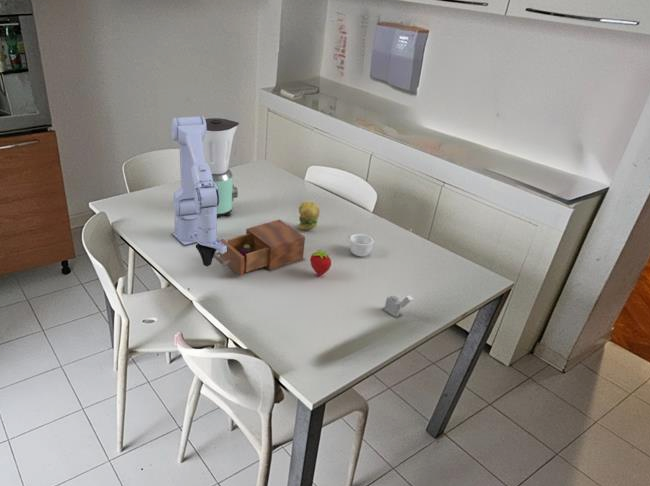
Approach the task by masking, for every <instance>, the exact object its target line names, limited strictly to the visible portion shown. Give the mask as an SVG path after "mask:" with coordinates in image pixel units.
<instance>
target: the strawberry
mask: <svg viewBox="0 0 650 486" xmlns="http://www.w3.org/2000/svg"><path fill="white" fill-rule="evenodd" d="M309 260H310V267H311V268H312V269H313V271H314V272H315V273H316V275H317V276H318V277H322V276H323V275H325V274H326V273H327V272H328V271H329V270H330V268H331V267H332V259H331V258H330V255H329V254H328V253H327V251H322V250H320V249H317V252H313V253H312V254H311V256H310V259H309Z"/></svg>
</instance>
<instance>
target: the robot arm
mask: <svg viewBox="0 0 650 486" xmlns="http://www.w3.org/2000/svg"><path fill="white" fill-rule="evenodd" d="M205 119H206V117H204V116H203V115H199V116H198V115H197V116H183V117H172V119H171V123H170V124H171V126H170V127H171V138H172V141H174V142H177V143H178V148H179V149H178V150H179V151H178V152H179V170H180V171H179V173H180V188H179V189H177V190H176V191H175V192H174V193H173V195H172V210H173V213H174V219H173V221H174V232H172V235H173V236H174V237H175V238H176V239H177V240H178V241H179V242H180V243H182V245H184V246H188V245H191V244H195V243H197V244H195V248H196V251H198V253H199V255H200V258H201V261H202V264H203V266H204V267H206V268H207V267H209V266H210V265H212V263H213V259H214V257H213V256H214V254H215V253H217V251H218V252H220V253H221V254H223V253H225V252H227V246H226V245H224V244H223V243H222V242H221V241H220V240H221V239H219V234H218V231H217V229H218V216H217V206H219V202H220V198H219V191H218V188H217V186H216V184H215V183H214V182H213V178H212V174H211V170H210V166H209V165H208V164H206V163H205V160H204V152H203V145H202V141H203V140H204V139H205V135H206V130H207V128H206V121H205ZM216 205H217V206H216Z"/></svg>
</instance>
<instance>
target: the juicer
mask: <svg viewBox="0 0 650 486" xmlns="http://www.w3.org/2000/svg"><path fill="white" fill-rule="evenodd" d="M205 121H206V128H207V130H206V135H205V139H204V140H203V141H202V145H203V152H204V160H205V163H206V164H208V165H209V166H210V170H211V174H212V178H213V182H214V183H215V184H216V186H217V188H218V191H219V198H220V202H219V206H217V205H216V206H217V217H221V216H225V217H230V216H231V212H232V210H233V208H234V199H235V198H238V196H239V195H238V194H239V191H238V187H237V186H234V175H233V173H232V171H231V169H230V168H229V164H230V158H231V153H232V152H231V151H232V148H233V142H234V136H235V133H236V131H237V129H238V126H239V125H240V122H238V121H234V120H230V119H227V118H219V117H212V118H211V117H210V118H205Z"/></svg>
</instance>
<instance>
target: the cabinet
mask: <svg viewBox="0 0 650 486" xmlns="http://www.w3.org/2000/svg"><path fill="white" fill-rule="evenodd" d="M245 231H246V233H245V234H248V233H250V234H251V235H252V236H254V237H255V238H256V239H258V240H259V241H260V242H262V243H263V244H264V245H266V246H267V247H268V248H270V249H269V264H268V265H267V266H264V268H265V269H266V270H268V271H272V270H276V269H279V268H282V267H284V266H288V265H290V264H293V263H296V262H299V261H302V260H304V253H305V242H306V236H305V235H303V234H302V233H300V232H299V231H297V230H296V229H295V228H293V227H291V226H290V225H289V224H287V223H286V222H284V221H283V220H281V219H277V220H272V221H269V222H266V223H262V224H258V225H255V226H251V227H247V228H246V229H245Z"/></svg>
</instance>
